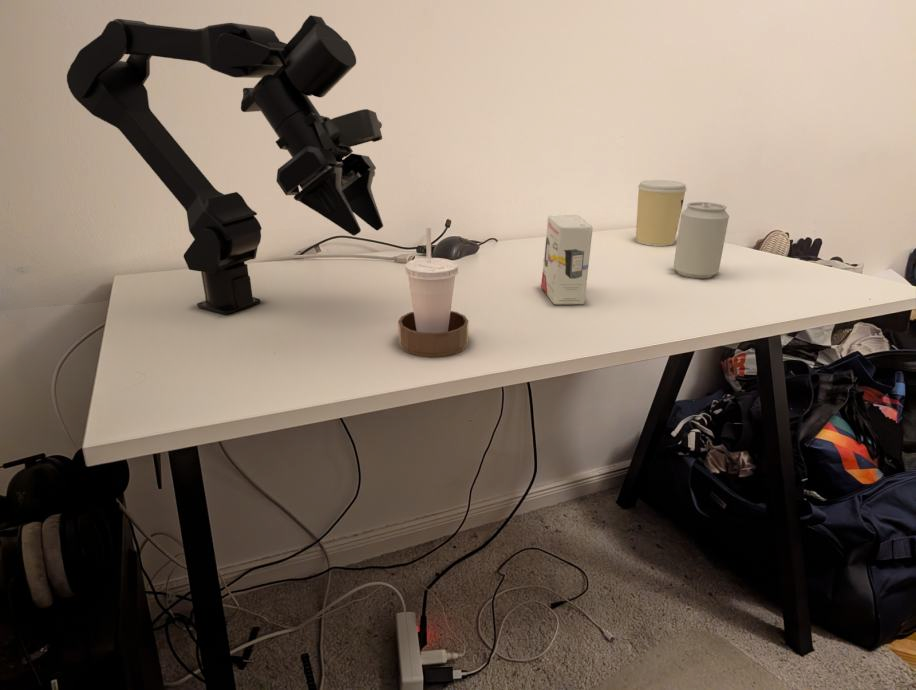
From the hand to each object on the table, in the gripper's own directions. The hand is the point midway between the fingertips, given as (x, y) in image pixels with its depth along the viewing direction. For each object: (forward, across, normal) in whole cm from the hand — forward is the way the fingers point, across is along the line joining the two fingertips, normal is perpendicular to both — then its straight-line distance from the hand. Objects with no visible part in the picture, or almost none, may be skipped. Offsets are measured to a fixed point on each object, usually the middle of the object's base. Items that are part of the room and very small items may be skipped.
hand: (369, 230), depth 75 cm
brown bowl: (+16, -1, +1) cm, 16 cm away
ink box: (+23, +20, -14) cm, 34 cm away
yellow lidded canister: (+29, +60, -32) cm, 74 cm away
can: (+34, +37, -34) cm, 61 cm away
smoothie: (+16, -1, +1) cm, 16 cm away
